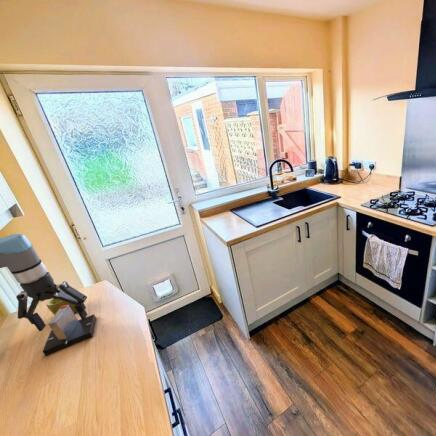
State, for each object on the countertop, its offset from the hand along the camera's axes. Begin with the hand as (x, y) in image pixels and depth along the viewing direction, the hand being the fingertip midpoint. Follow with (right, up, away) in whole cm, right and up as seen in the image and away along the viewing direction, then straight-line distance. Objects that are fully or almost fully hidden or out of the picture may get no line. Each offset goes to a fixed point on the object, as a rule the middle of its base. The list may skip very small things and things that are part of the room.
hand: (64, 322), depth 92 cm
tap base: (+1, -6, +3) cm, 7 cm away
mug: (-14, -2, +17) cm, 22 cm away
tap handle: (+1, -4, +2) cm, 5 cm away
